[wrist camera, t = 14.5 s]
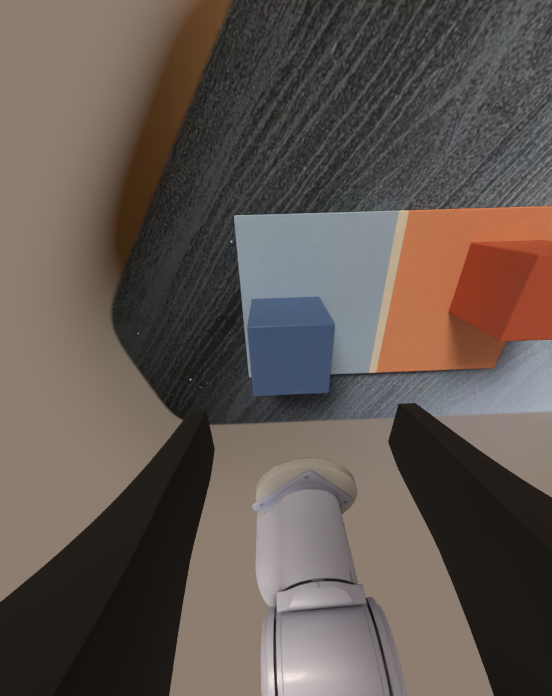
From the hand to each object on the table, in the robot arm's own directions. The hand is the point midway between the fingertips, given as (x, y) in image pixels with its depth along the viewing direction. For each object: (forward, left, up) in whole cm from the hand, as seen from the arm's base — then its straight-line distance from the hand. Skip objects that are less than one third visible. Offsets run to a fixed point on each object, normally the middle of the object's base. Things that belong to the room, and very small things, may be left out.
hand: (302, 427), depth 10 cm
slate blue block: (0, 0, -9) cm, 9 cm away
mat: (+6, -3, -9) cm, 12 cm away
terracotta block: (+12, -7, -9) cm, 16 cm away
